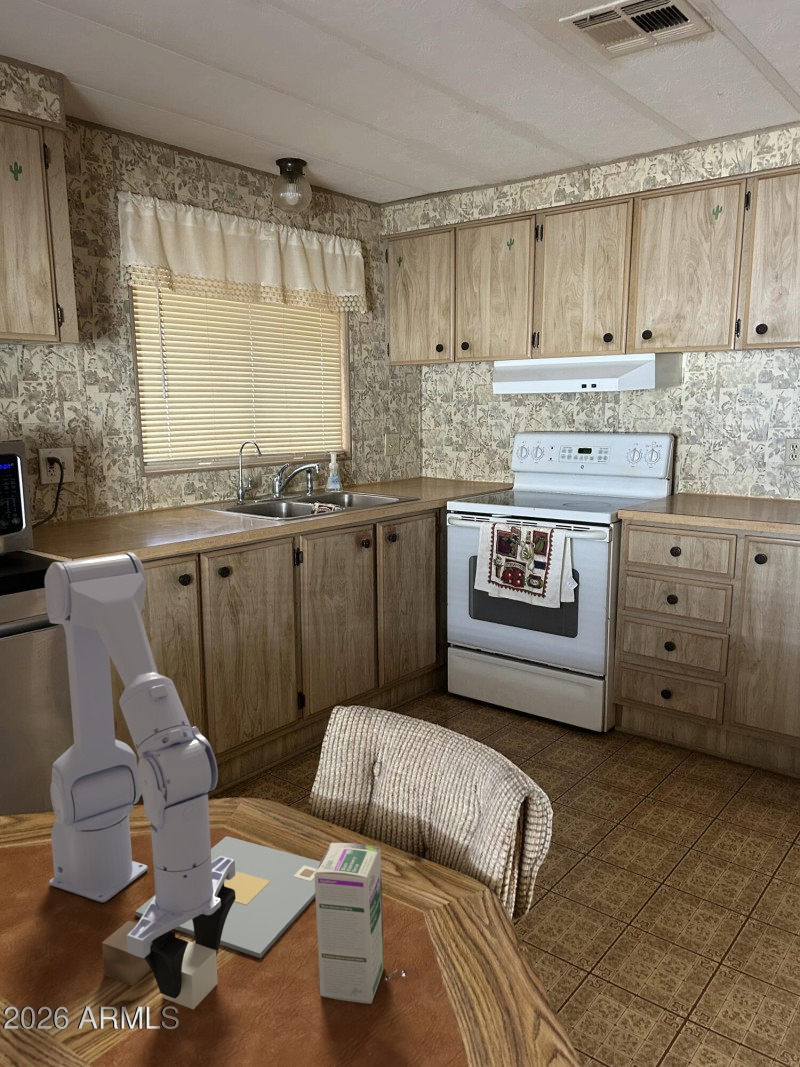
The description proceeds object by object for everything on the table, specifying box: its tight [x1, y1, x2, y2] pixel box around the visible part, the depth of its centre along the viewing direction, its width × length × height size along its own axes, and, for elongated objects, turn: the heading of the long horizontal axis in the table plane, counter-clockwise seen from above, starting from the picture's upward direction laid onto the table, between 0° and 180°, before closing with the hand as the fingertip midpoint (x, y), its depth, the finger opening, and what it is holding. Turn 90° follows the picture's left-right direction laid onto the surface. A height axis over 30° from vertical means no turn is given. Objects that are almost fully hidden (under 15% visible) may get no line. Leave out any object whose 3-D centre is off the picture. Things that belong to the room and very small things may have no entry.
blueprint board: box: [134, 835, 321, 959], centre depth 100 cm, size 18×18×1 cm
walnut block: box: [101, 920, 152, 987], centre depth 87 cm, size 4×4×4 cm
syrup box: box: [314, 842, 385, 1005], centre depth 84 cm, size 6×6×14 cm
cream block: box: [162, 939, 219, 1010], centre depth 83 cm, size 4×4×4 cm
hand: (189, 973), depth 83 cm, fingers open, 5 cm apart
